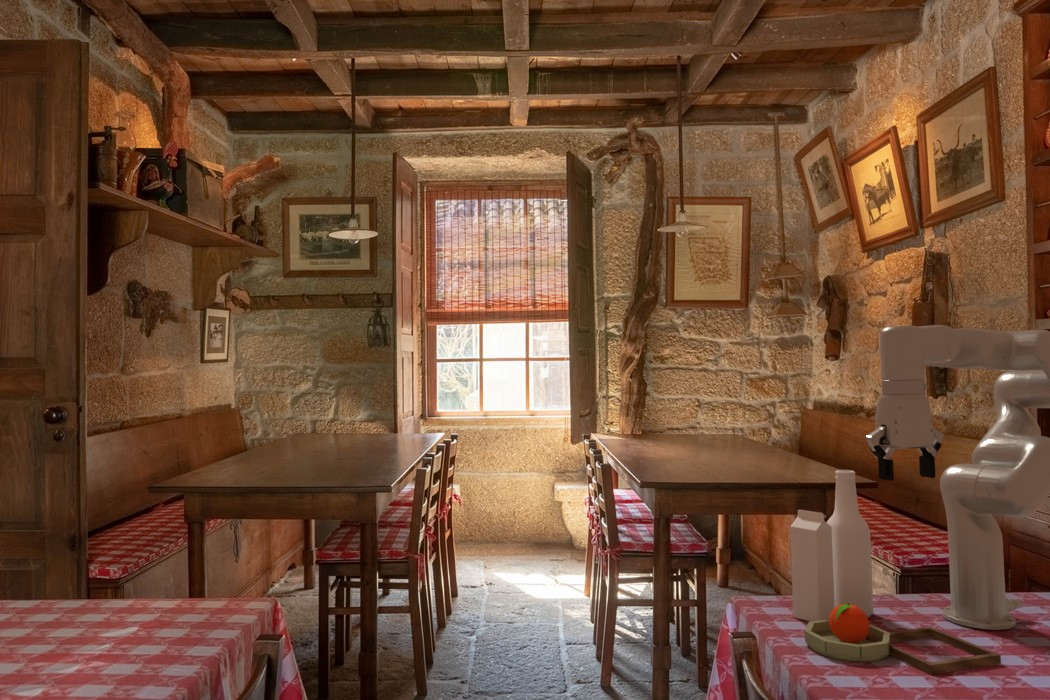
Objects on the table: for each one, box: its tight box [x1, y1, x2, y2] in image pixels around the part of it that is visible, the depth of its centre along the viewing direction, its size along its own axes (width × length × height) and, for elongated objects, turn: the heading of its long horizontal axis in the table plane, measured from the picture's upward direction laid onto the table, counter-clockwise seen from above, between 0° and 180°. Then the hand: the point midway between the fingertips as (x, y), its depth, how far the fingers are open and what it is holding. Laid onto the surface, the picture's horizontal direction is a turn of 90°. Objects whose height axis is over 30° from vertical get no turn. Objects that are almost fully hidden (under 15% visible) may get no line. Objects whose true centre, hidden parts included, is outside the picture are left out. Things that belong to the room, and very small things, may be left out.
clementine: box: [829, 603, 870, 643], centre depth 133 cm, size 8×7×7 cm
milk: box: [789, 509, 835, 622], centre depth 150 cm, size 6×6×22 cm
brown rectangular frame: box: [866, 626, 1002, 675], centre depth 130 cm, size 15×15×2 cm
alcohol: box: [826, 469, 874, 619], centre depth 153 cm, size 9×9×30 cm
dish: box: [804, 619, 891, 663], centre depth 133 cm, size 14×14×3 cm
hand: (907, 478), depth 138 cm, fingers open, 9 cm apart
